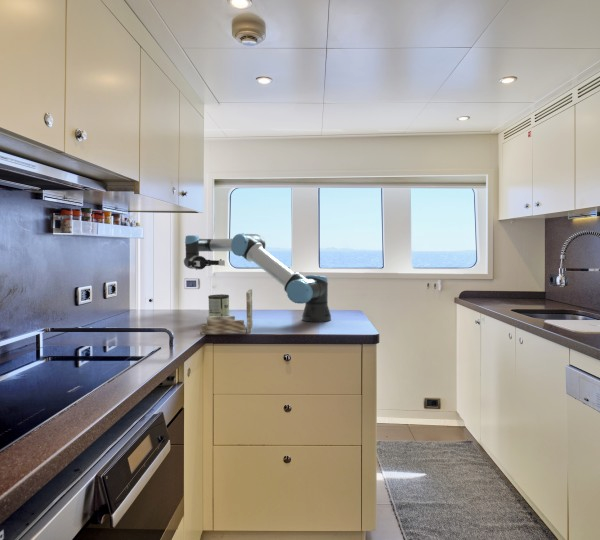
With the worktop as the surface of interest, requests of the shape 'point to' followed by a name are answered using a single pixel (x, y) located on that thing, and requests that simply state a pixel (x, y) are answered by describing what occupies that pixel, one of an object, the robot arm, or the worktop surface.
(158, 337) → the worktop surface
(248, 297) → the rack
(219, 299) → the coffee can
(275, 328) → the worktop surface
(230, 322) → the offcut stack
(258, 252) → the robot arm
